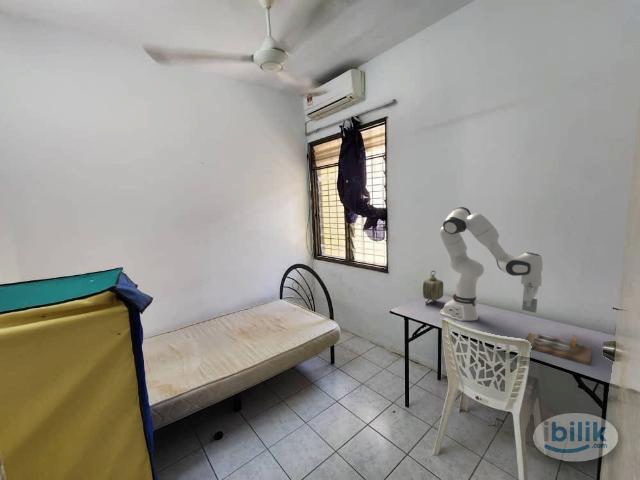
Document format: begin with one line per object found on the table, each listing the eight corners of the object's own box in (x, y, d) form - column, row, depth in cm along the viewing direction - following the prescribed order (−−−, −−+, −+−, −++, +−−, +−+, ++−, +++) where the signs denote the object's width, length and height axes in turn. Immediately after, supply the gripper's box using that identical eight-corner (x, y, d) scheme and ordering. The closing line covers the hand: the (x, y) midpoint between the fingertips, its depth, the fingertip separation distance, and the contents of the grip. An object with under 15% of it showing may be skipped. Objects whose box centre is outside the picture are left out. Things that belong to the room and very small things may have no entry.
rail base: (522, 346, 134) (523, 339, 134) (529, 335, 145) (529, 328, 144) (590, 365, 117) (590, 356, 116) (591, 350, 127) (592, 343, 127)
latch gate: (571, 346, 129) (571, 339, 128) (572, 342, 133) (572, 334, 132) (574, 347, 128) (575, 340, 127) (575, 342, 132) (576, 335, 132)
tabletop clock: (432, 299, 208) (432, 268, 205) (444, 302, 201) (444, 269, 198) (423, 304, 199) (422, 271, 196) (434, 307, 192) (434, 273, 189)
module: (522, 309, 150) (522, 298, 150) (523, 308, 152) (524, 296, 152) (535, 312, 146) (536, 300, 145) (536, 311, 148) (537, 299, 147)
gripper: (535, 286, 138) (533, 311, 140) (541, 278, 152) (539, 301, 154) (520, 284, 143) (518, 308, 144) (527, 276, 157) (525, 299, 158)
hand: (529, 305), depth 149 cm, fingers closed on module, 3 cm apart
